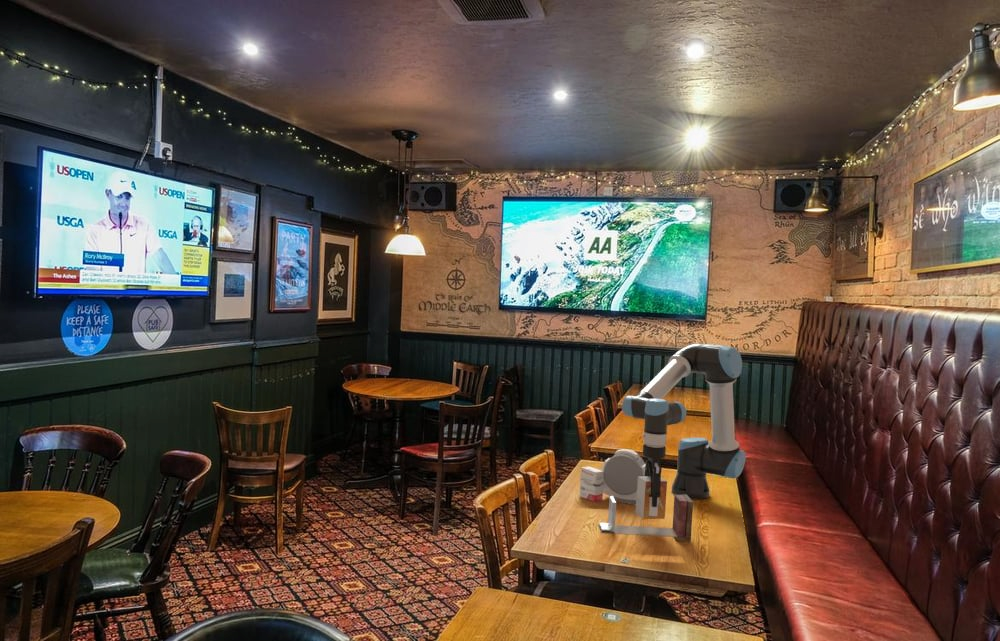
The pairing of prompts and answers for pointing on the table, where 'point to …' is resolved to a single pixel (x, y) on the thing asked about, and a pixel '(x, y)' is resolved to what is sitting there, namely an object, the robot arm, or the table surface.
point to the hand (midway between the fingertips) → (650, 511)
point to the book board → (679, 530)
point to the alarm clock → (623, 475)
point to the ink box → (591, 484)
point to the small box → (644, 498)
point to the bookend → (610, 516)
